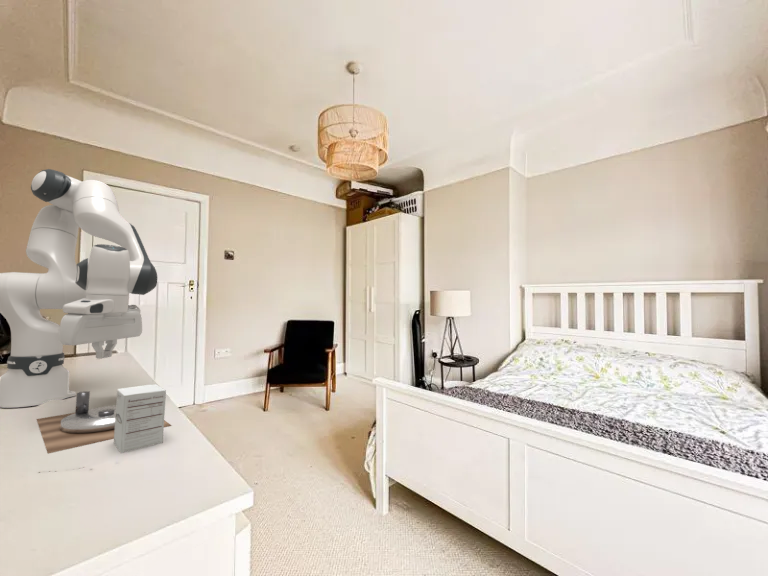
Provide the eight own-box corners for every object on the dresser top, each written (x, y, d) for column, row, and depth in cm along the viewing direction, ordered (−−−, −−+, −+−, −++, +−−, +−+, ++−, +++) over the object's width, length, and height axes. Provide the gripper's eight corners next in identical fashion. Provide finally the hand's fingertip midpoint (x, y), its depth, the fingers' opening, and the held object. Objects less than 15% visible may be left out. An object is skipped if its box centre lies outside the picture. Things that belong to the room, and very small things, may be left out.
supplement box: (112, 449, 69) (116, 388, 70) (154, 440, 75) (157, 383, 76) (118, 461, 64) (123, 395, 65) (163, 450, 70) (167, 389, 71)
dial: (169, 412, 88) (171, 387, 89) (116, 435, 72) (118, 405, 73) (105, 409, 90) (107, 384, 90) (39, 430, 74) (42, 401, 74)
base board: (35, 425, 82) (36, 418, 82) (138, 407, 98) (139, 401, 98) (47, 461, 64) (47, 452, 64) (171, 431, 80) (171, 424, 80)
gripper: (130, 304, 99) (127, 350, 99) (55, 305, 79) (51, 364, 78) (149, 305, 98) (146, 352, 98) (79, 307, 78) (75, 366, 78)
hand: (103, 357), depth 88 cm, fingers closed
